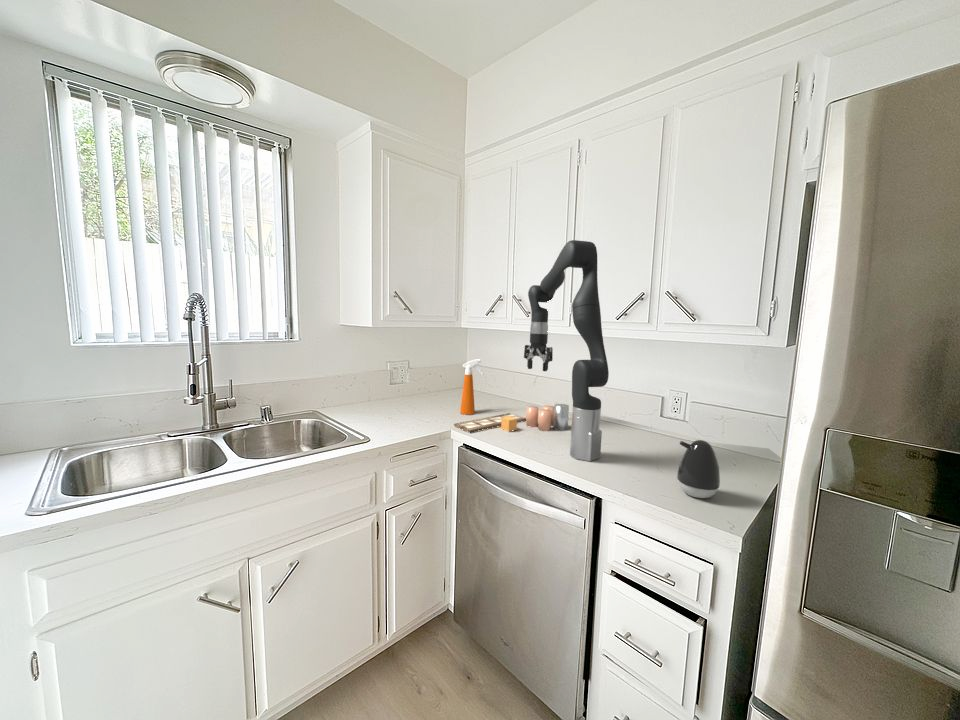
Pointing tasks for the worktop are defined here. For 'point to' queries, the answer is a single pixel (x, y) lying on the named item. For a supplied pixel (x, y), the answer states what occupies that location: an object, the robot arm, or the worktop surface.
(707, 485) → the pump dispenser
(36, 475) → the worktop surface
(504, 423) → the block
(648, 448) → the worktop surface
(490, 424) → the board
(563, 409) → the grey tin
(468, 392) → the spray bottle
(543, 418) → the tan cylinder
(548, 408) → the tan cylinder
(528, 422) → the tan cylinder
